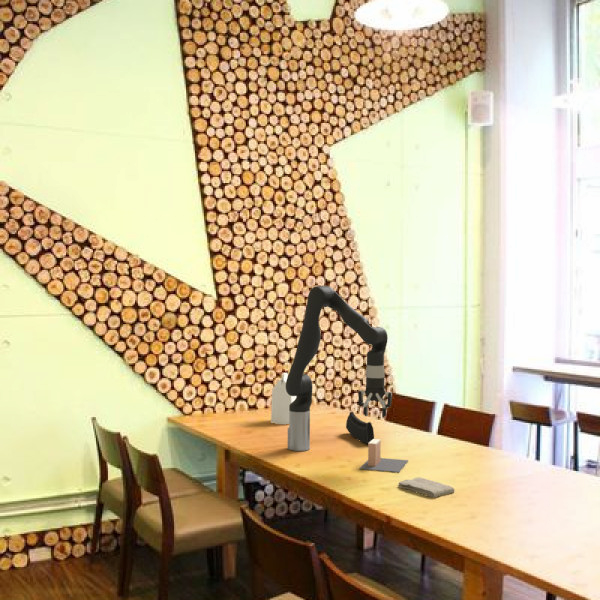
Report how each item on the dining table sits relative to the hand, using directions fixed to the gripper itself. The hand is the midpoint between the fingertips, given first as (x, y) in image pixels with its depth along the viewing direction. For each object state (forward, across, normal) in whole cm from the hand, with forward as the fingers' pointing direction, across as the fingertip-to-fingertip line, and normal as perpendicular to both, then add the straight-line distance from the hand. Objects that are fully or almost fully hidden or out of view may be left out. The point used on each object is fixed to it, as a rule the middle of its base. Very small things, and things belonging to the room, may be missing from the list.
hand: (374, 416), depth 300 cm
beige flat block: (+19, 0, 0) cm, 19 cm away
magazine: (+20, -18, +46) cm, 53 cm away
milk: (+20, -66, +74) cm, 101 cm away
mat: (+20, +4, 0) cm, 20 cm away
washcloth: (+20, +26, -30) cm, 44 cm away
